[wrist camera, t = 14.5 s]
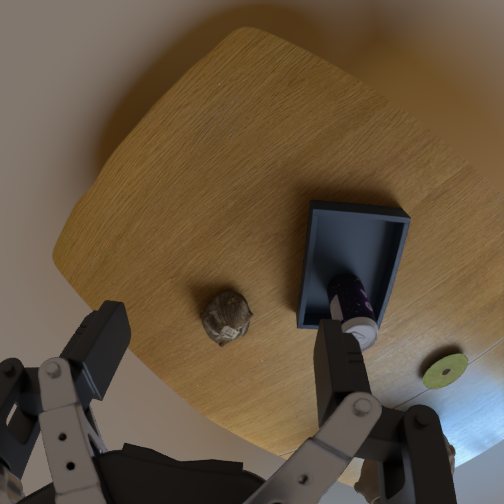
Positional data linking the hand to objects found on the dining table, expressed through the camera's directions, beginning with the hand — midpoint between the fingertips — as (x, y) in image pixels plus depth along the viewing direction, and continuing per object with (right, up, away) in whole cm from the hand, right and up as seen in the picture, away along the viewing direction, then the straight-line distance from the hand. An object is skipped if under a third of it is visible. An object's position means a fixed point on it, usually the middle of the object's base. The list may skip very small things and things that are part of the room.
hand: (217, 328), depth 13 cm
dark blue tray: (+16, +1, +35) cm, 38 cm away
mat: (+43, -22, +45) cm, 66 cm away
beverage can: (+16, -2, +36) cm, 39 cm away
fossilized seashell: (-3, -7, +40) cm, 41 cm away
